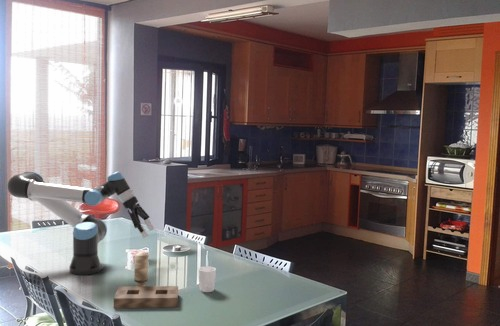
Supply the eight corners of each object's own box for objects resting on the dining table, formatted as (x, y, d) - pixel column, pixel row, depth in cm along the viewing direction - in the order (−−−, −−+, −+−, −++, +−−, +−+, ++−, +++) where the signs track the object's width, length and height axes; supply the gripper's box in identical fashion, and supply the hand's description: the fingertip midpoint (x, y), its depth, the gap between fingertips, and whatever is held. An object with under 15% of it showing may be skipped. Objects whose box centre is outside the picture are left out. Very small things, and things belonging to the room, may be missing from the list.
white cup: (198, 286, 233) (198, 266, 232) (215, 286, 233) (215, 266, 232) (197, 292, 225) (198, 271, 224) (215, 293, 226) (216, 271, 225)
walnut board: (113, 307, 205) (113, 298, 204) (118, 295, 218) (118, 286, 218) (177, 307, 208) (177, 297, 207) (178, 294, 222) (178, 286, 221)
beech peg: (133, 291, 224) (133, 256, 222) (134, 286, 230) (135, 252, 228) (147, 291, 225) (147, 256, 223) (148, 286, 231) (148, 252, 229)
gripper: (127, 200, 248) (149, 236, 250) (140, 191, 272) (160, 223, 274) (114, 207, 248) (137, 243, 250) (129, 197, 273) (149, 230, 275)
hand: (149, 233), depth 262 cm, fingers open, 13 cm apart
